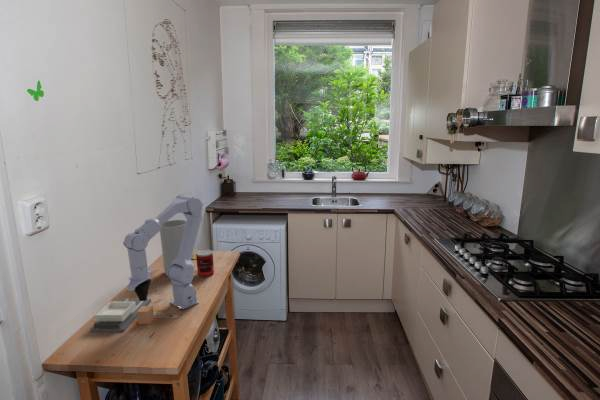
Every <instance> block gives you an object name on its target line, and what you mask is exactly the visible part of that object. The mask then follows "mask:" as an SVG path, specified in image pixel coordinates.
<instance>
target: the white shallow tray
mask: <svg viewBox="0 0 600 400" xmlns="http://www.w3.org/2000/svg"><path fill="white" fill-rule="evenodd" d="M135 308H136V302H120V301H109V302H108V303H107V304H105V305H104V306H103V307H102V308H101V309H100V310H99V311H98V312H97V313H95V314H94V320H95V322H108V321H119V322H123V321H124V320H125V319H126V318H127V317H128V315H129V314H130V313H132V311H133V310H134V309H135Z"/></svg>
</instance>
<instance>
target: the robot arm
mask: <svg viewBox="0 0 600 400" xmlns="http://www.w3.org/2000/svg"><path fill="white" fill-rule="evenodd" d="M203 205H204V203H203V202H202V200H201V199H200V197H198V196H192V195H187V194H186V195H185V194H178V195H176V197H175V198H173V199H172V201H171V203H170V204H169V205H168V206H166V207H165V208H164V209H163V210H162V211H161V213H160V214H158V215H157V216H156V217H155V218H149V219H146V220H145V221H144V223H143V224H142V225H140V227H138V228H136V229H134V232H129V233H128V234H126V235H125V237H124V240H123V242H122V245H123V246H124V247H125V248H126V249H127V253H128V256H127V257H128V262H129V270H130V276H129V277H128V281H129V283H128V285H127V291H128V292H135V293H136V295H137V297H138V299H139V300H140V301H146V300H147V299H148V294H149V288H150V285H151V282H152V279H151V278H150V276H151V275H152V274H153V269H152V268H148V267H149V266H148V260H147V252H146V248H147V247H148V244H149V242H150V241H151V239H153V238H154V237H155V236H156V235H158V233H160V230H161V226H162V225H163V224H164V223H165V222H167V221H170V220H171V219H172V218H173V217H174V216H175V215H177V214H183V215H184V217H185V219H186V221H187V222H186V225H185V229H184V233H183V237H182V241H181V244H180V248H179V252H178V256H177V258H175V259H174V260H173V261H172V263H171V266H170V267H169V268H168V271H167V275H166V276H167V277H168V279H170V281H171V287H172V295H173V296H172V297H173V300H170V301H169V303H170V304H171V305H173V306H174V305H175V306H174V307H176V306H181V307H182V309H183V310H185V309H187V308H191V307H192V306H194V305H198V304H199V302H200V301H199V300H197V290H196V288H195V286H194V285H193V284H192V281H193V279H194V277H195V273H194V272H195V271H194V269H195V265H194V263H193V262H192V259H191V258H192V255H194V254H193V253H194V249H195V245H196V241H197V238H198V235H199V230H200V227H201V222H202V219H203V215H202V209H203Z"/></svg>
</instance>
